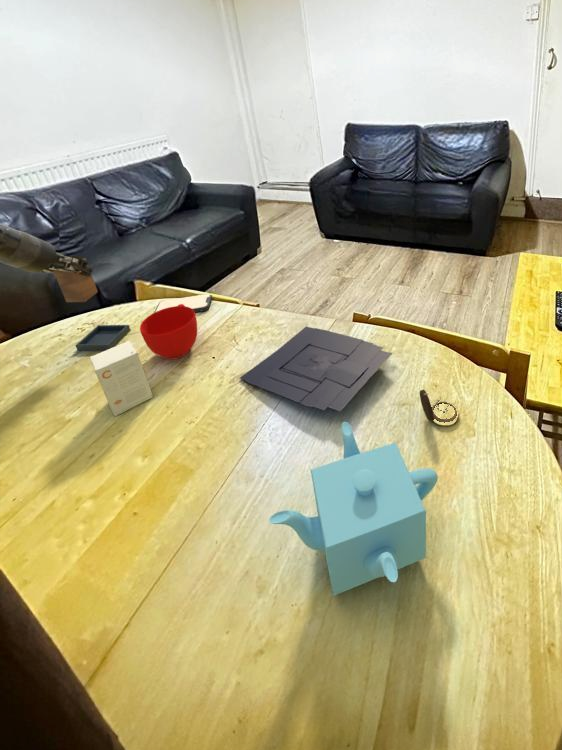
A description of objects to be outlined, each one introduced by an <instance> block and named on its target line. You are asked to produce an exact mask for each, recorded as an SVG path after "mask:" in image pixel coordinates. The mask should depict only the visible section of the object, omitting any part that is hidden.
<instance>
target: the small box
mask: <svg viewBox="0 0 562 750" xmlns="http://www.w3.org/2000/svg"><path fill="white" fill-rule="evenodd" d="M89 360H90V363H91V365H92V368H93V369H94V370H93V371H94V373H95V375H96V376H97V380H98V381H99V384H100V387H101V389H102V391H103V395H104V397H105V398H106V400H107V403H108V405H109V408H110V410H111V412H112V414H113V416H114V417H117V416H119V415H122V414H123V413H124V412H126V411H127V412H128V410H131V409H132V408H135V407H136V406H139V405H141V404H143V403H144V402H147V401H148V400H150V399H152V398H153V397H154V395H153V392H152V390H151V387H150V384H149V381H148V378H147V375H146V372H145V370H144V367H143V364H142V361H141V358H140V356H139V353H138V352H137V350H136V348H135V347H134V345H133V344H132V342H131V341H130V340H128V341H125V342H123V343H121V344H117V345H116V346H115V347H113V348H111V349H108V350H106V351H100V352H99V353H96V354H93V355H92V356H91V355H90V356H89Z"/></svg>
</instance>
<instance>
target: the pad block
mask: <svg viewBox="0 0 562 750" xmlns="http://www.w3.org/2000/svg"><path fill="white" fill-rule="evenodd" d="M81 258H82V259H84V260H85V261H87V258H83V257H81ZM67 264H68V263H67ZM67 264H66V267H67ZM66 267H65V268H66ZM87 267H90V266H89V265H88V266H87ZM73 269H75V268H74V267H73ZM54 275H55V278H56V280H57V283H58V285H59V288H60V291H61V293H62V295H63V298H64V301H65V302H66V303H86V302H87V301H88V300H89V299H91V298H92V297H94V295H96V294H97V293H98V288H97V286H96V282H95V280H94V277H93V274H92V273H91V276H85V275H82V274H79V273H76V272H72V271H71V272H64V271H60V270H54Z"/></svg>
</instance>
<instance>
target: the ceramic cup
mask: <svg viewBox="0 0 562 750" xmlns="http://www.w3.org/2000/svg"><path fill="white" fill-rule="evenodd" d="M154 312H155V311H154ZM154 312H153V313H151V314H149V315H148V316H146V317H145V319H144V320H142V322H141V323H140V326H139V331H140V334H141V336H142V339H143V341H144V343H145V344H146V346H147V347H148V348H149V350H150V351H151V352H152V353H153V354H155V355H157V356H158V357H162V358H164V359H167V360H176V359H179V358H182V357H185V355H187V354H188V353H189V352H190V351H191V349H192V348H193V346H194V344H195V342H196V339H197V336H198V321H197V315H196V312H194V310H193V309H192V308H189V307H186V306H184V305H183V304H179V305H178V306H175V307H169V308H165V309H162V310H160V311H157V312H155V313H154Z"/></svg>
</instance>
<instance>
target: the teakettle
mask: <svg viewBox="0 0 562 750" xmlns="http://www.w3.org/2000/svg"><path fill="white" fill-rule="evenodd" d="M341 433H342V441H343V455H342V456H343V457H342V459H339V460H336V461H332V462H330V463H326V464H323V465H320V466H318V467H314V468H312V469H310V474H311V480H312V486H313V491H314V492H313V494H314V499H315V505H316V511H317V516H306V515H304V514H302V513H301V512H299V511H297V510H293V509H284V510H280V511H278V512H275V513H274V514H272V515H271V516H270V517H269V518H268V521H269V523H270V524H272V525H285V526H288V527H290V528H291V529H293V530H294V531H295V533H296V535H297V536H298V538H299V539H300V540H301V541H302V543H303V544H304V546H306V547H307V548H309V549H311V550H313V551H319V552H324V553H325V559H326V564H327V570H328V574H329V580H330V585H331V591H332V596H334V597H335V596H338V595H339V594H342V593H344V592H347V591H349V590H352V589H355V588H357V587H359V586H361V585H363V584H364V585H365V584H366V583H369V582H371V581H374V580H376V579H379V578H383V577H386V579H387V580H388V581H389V582H391V583H392V584H393V583H396V582H397V581H398V578H399V571H398V570H400V569H404V568H405V567H407V566H410V565H412V564H416V562H420V561H421V560H425V559H426V558H427V540H426V539H427V511H426V509H425V507H424V504H423V500H424V499H425V498H426V497H427V496H428V495H429V494H430V493H431V491H432V490H434V488H435V486H436V484H437V482H438V478H439V477H438V473H437V471H435V469H433V468H430V467H428V468H427V467H425V468H419V469H414V470H411V471H409V469H408V467H407V465H406V463H405V460H404V458H403V455H402V453H401V451H400V449H399V446H398V443H397V442H392V443H389V444H385V445H383V446H380V447H376V448H373V449H370V450H366V451H363V452H361V451H360V449H359V447H358V444H357V441H356V438H355V435H354V431H353V428H352V425H350V423H349V422H347V421H343V422H342V424H341ZM354 587H355V588H354Z"/></svg>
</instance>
